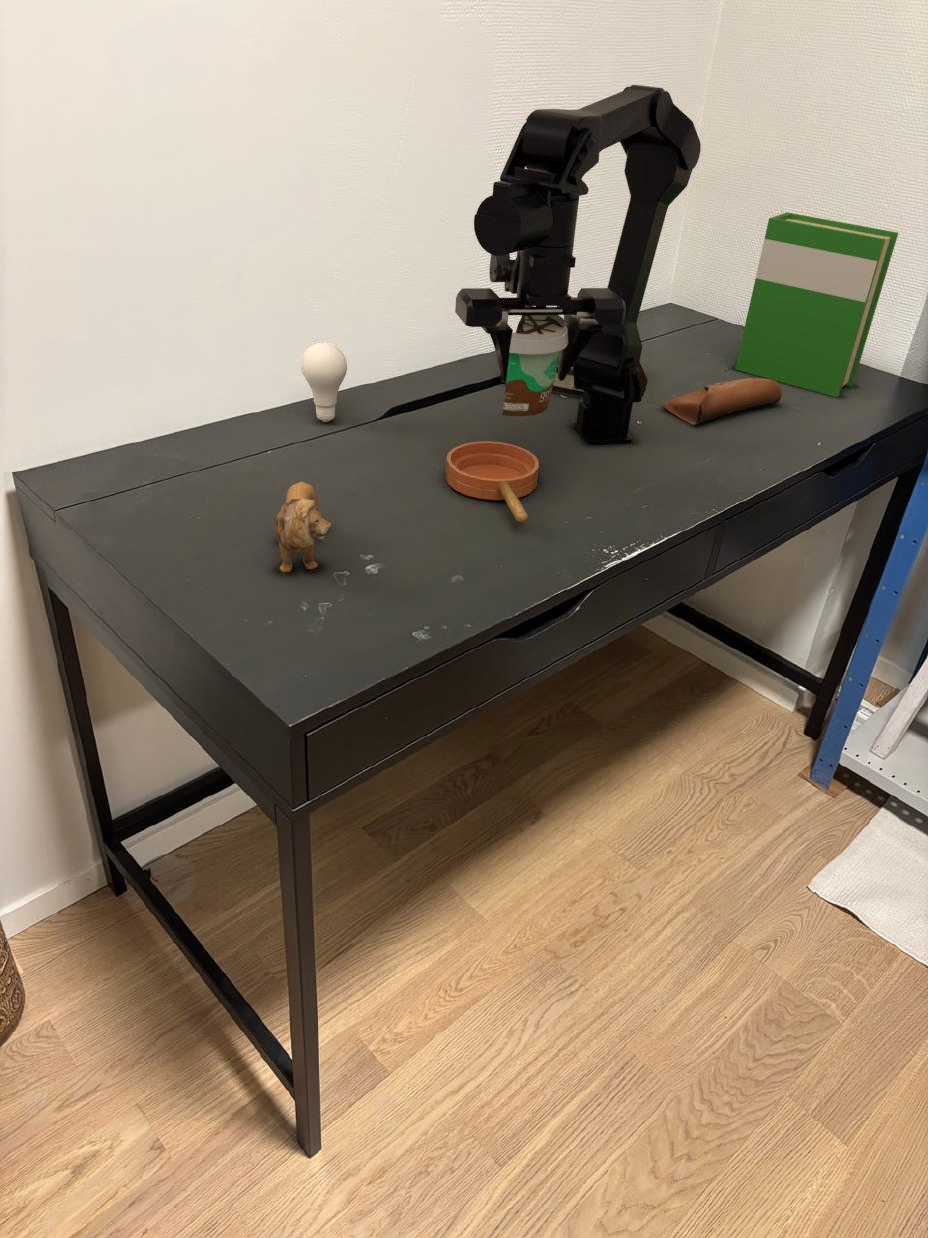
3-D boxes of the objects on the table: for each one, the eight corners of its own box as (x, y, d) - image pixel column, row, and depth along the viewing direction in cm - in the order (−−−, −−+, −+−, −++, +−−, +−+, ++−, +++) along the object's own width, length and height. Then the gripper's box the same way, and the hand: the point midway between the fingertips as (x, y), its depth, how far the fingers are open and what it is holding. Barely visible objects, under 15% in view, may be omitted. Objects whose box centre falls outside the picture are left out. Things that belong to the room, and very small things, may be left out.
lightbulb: (355, 417, 133) (354, 340, 127) (336, 433, 128) (334, 353, 122) (315, 410, 134) (313, 333, 128) (295, 425, 130) (292, 346, 123)
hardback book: (852, 385, 156) (898, 232, 143) (837, 397, 151) (883, 239, 138) (752, 359, 164) (787, 212, 151) (735, 369, 159) (769, 218, 146)
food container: (553, 428, 108) (567, 342, 102) (500, 420, 109) (511, 334, 103) (561, 390, 118) (574, 310, 113) (512, 382, 119) (523, 302, 113)
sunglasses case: (738, 385, 151) (763, 356, 146) (762, 419, 149) (789, 392, 144) (658, 405, 142) (682, 375, 137) (683, 442, 140) (708, 413, 135)
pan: (522, 460, 124) (524, 439, 123) (547, 500, 115) (550, 478, 113) (437, 464, 122) (438, 443, 120) (456, 505, 113) (457, 482, 111)
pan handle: (508, 489, 114) (508, 478, 113) (528, 525, 107) (529, 514, 106) (496, 489, 113) (497, 479, 113) (516, 525, 106) (517, 514, 105)
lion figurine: (333, 587, 96) (332, 508, 91) (280, 591, 95) (276, 511, 90) (318, 518, 108) (316, 445, 103) (271, 521, 107) (266, 447, 102)
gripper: (601, 226, 112) (584, 356, 120) (448, 224, 107) (441, 359, 116) (637, 249, 103) (616, 387, 111) (472, 247, 98) (462, 391, 107)
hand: (533, 380), depth 112 cm, fingers closed on food container, 6 cm apart
